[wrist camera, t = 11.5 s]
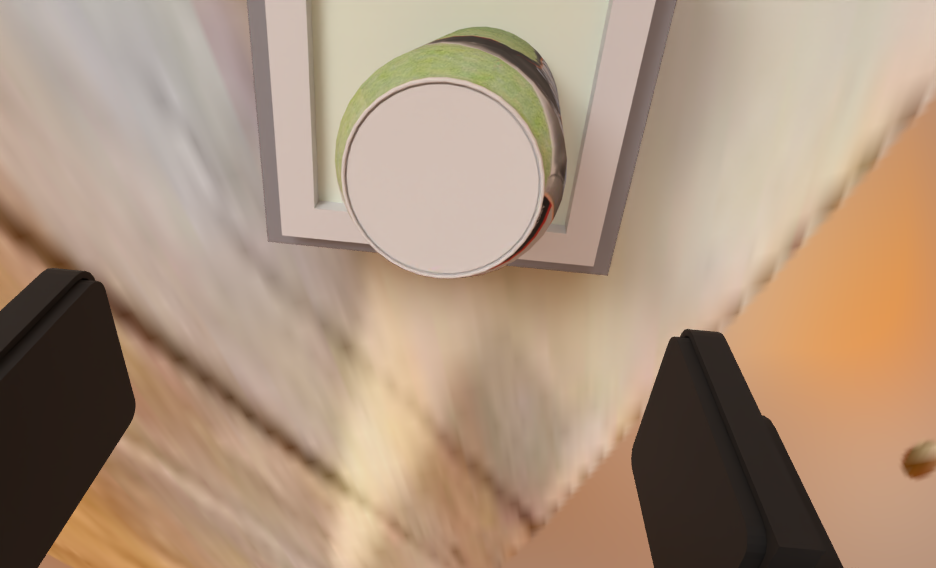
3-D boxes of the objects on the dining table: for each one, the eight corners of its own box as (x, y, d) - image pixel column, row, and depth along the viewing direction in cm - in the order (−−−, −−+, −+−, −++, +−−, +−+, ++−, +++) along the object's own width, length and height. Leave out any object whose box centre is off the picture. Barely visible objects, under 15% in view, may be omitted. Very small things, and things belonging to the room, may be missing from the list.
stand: (294, -168, 28) (220, -180, 20) (657, -127, 28) (716, -125, 21) (309, 173, 37) (261, 252, 29) (587, 201, 37) (610, 287, 29)
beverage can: (464, 196, 28) (445, 377, 18) (353, 55, 25) (255, 178, 15) (590, 114, 26) (648, 268, 16) (484, -52, 23) (474, 8, 13)
